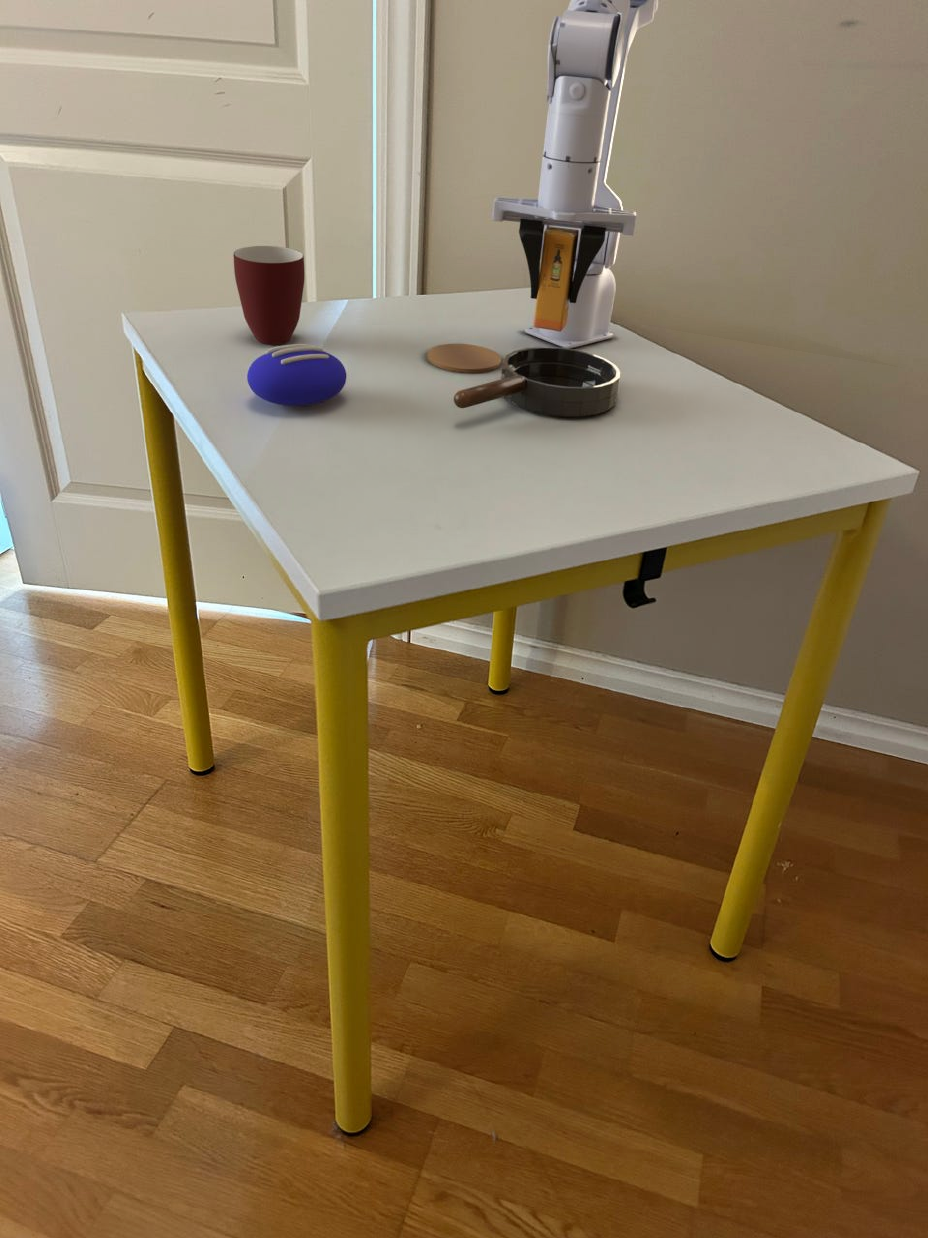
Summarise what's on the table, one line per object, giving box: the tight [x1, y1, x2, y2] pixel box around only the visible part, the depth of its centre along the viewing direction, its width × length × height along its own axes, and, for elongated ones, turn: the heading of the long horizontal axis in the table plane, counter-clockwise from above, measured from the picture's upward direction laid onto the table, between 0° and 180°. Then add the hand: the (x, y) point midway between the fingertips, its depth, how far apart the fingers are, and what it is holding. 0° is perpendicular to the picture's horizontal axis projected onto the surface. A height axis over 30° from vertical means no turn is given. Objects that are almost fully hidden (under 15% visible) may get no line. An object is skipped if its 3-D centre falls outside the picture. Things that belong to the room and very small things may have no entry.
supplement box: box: [532, 227, 579, 332], centre depth 94 cm, size 3×3×10 cm
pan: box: [500, 346, 621, 418], centre depth 99 cm, size 13×13×4 cm
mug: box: [232, 245, 306, 346], centre depth 106 cm, size 11×8×10 cm
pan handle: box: [453, 375, 526, 409], centre depth 92 cm, size 10×2×2 cm, turn 133°
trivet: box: [427, 343, 502, 374], centre depth 107 cm, size 9×9×1 cm
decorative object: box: [246, 343, 347, 407], centre depth 92 cm, size 10×6×10 cm
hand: (553, 298), depth 95 cm, fingers closed on supplement box, 3 cm apart
